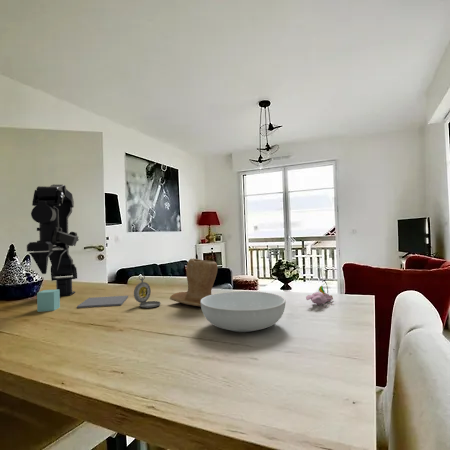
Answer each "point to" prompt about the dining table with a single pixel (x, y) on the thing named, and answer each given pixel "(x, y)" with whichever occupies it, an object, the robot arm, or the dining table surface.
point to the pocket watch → (143, 291)
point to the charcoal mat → (103, 301)
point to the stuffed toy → (320, 297)
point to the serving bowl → (243, 310)
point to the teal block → (48, 300)
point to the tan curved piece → (197, 282)
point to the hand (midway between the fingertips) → (50, 272)
